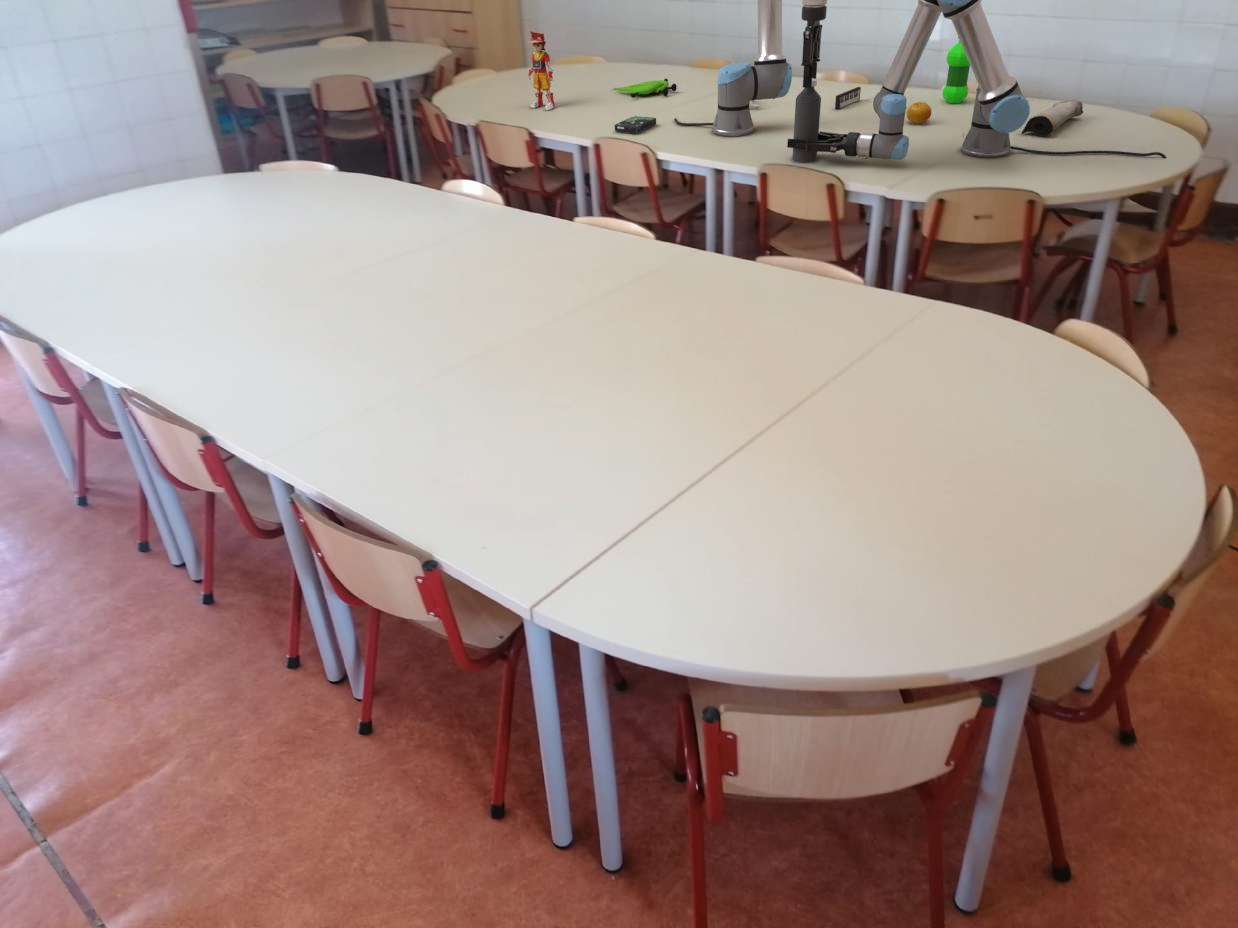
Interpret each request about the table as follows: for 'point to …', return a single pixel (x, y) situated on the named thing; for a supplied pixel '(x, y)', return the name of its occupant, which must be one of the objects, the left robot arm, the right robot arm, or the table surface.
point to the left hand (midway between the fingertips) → (809, 85)
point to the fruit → (919, 112)
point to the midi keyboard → (847, 97)
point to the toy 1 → (541, 71)
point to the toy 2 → (648, 88)
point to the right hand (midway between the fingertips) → (792, 139)
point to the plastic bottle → (956, 75)
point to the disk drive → (635, 124)
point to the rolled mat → (1053, 118)
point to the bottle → (806, 122)
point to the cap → (814, 82)
